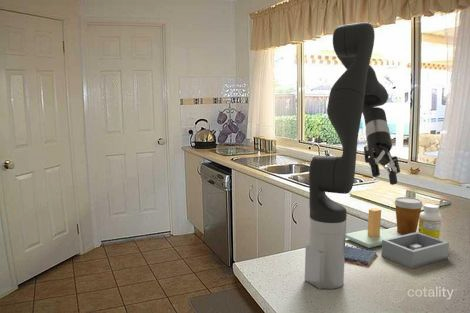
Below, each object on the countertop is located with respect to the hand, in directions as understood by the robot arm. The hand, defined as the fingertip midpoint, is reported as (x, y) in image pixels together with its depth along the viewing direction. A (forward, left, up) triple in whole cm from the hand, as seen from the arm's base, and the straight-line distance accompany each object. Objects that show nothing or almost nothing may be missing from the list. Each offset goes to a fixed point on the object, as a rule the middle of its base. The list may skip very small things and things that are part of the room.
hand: (385, 180), depth 122 cm
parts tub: (+4, -9, -23) cm, 25 cm away
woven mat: (-12, -1, -23) cm, 26 cm away
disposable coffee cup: (+22, +8, -23) cm, 33 cm away
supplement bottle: (+19, -3, -23) cm, 30 cm away
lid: (+4, +7, -23) cm, 24 cm away
